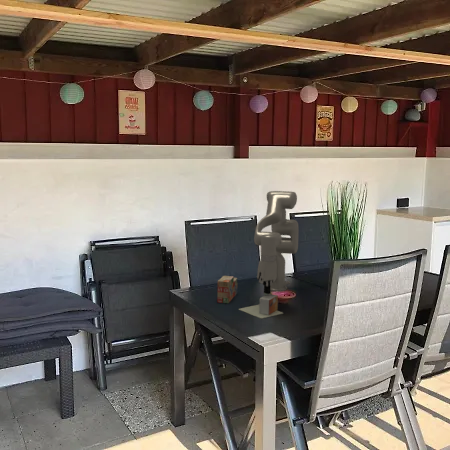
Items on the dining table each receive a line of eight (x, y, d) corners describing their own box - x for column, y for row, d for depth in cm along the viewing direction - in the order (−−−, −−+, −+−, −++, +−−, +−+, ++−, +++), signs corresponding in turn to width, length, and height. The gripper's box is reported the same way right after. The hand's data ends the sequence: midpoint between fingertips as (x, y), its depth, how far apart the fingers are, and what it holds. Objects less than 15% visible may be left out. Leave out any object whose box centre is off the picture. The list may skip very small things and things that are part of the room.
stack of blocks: (227, 292, 294) (227, 271, 292) (237, 293, 292) (237, 272, 291) (217, 302, 273) (217, 280, 272) (228, 303, 272) (228, 281, 270)
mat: (260, 304, 270) (260, 304, 270) (283, 313, 256) (283, 312, 256) (238, 309, 261) (238, 308, 261) (261, 318, 247) (261, 318, 247)
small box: (277, 310, 261) (268, 315, 252) (267, 308, 264) (258, 313, 255) (278, 295, 259) (269, 300, 251) (268, 293, 262) (259, 298, 253)
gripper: (273, 255, 265) (272, 289, 267) (252, 258, 256) (251, 293, 258) (283, 258, 259) (282, 292, 262) (261, 261, 250) (260, 297, 253)
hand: (267, 293), depth 260 cm, fingers closed
